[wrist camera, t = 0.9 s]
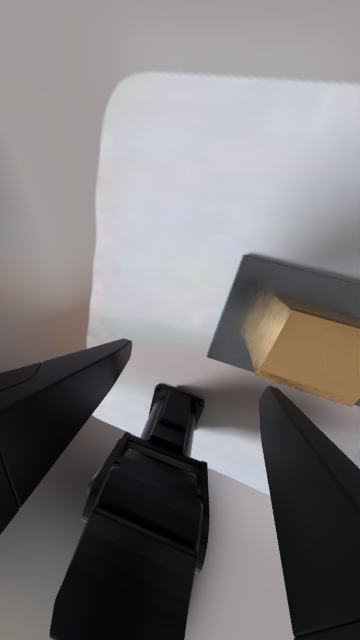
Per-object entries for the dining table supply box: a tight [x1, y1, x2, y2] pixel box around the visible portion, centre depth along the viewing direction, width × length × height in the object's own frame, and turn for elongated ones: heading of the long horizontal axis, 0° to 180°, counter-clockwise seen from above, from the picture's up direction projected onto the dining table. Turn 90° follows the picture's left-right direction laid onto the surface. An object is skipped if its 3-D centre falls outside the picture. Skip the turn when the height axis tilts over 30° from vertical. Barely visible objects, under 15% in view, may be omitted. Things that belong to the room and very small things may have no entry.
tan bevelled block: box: [249, 295, 360, 407], centre depth 13 cm, size 6×7×4 cm
